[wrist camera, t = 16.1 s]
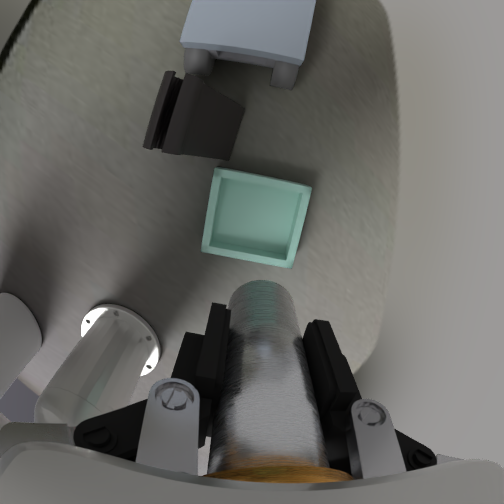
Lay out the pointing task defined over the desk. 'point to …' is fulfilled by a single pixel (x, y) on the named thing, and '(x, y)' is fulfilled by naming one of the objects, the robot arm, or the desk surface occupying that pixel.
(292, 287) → the desk surface
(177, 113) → the phone stand
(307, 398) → the pin
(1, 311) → the cylinder vase
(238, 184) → the tray
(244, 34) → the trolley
